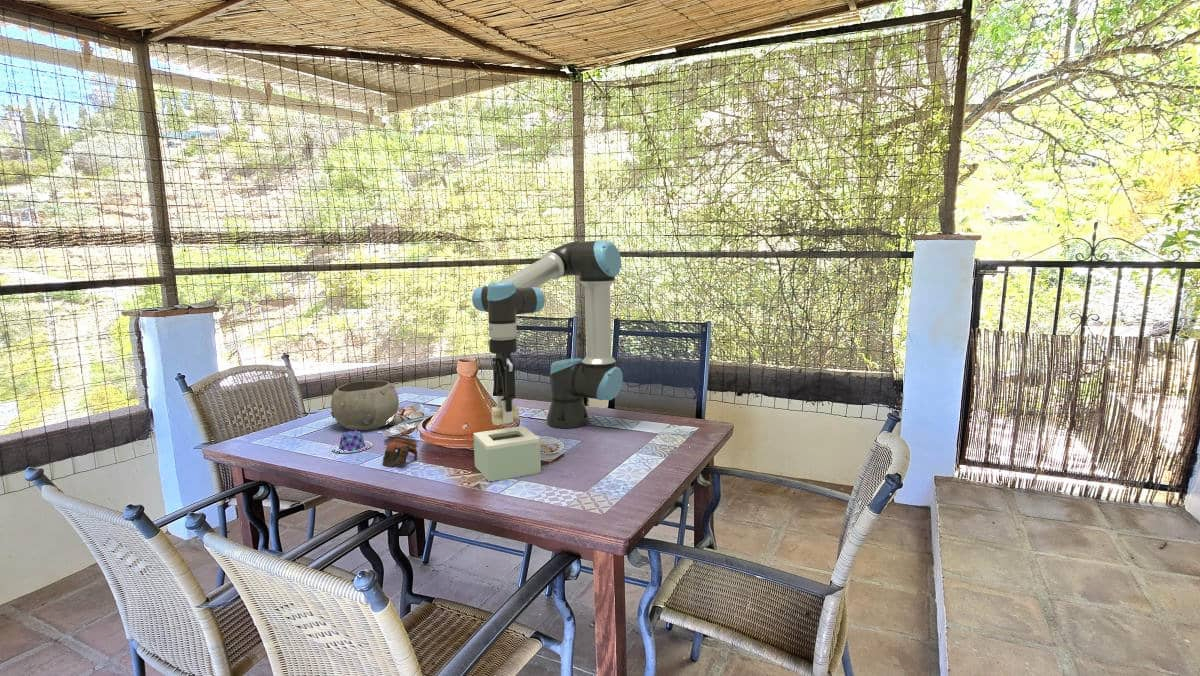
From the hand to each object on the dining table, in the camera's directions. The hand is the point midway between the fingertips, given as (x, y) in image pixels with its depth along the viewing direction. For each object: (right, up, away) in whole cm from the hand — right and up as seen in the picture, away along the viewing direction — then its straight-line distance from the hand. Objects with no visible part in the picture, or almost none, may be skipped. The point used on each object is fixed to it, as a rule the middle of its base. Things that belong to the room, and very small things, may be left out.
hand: (505, 420), depth 172 cm
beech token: (0, -1, 0) cm, 0 cm away
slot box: (0, -14, +2) cm, 14 cm away
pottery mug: (-32, -14, +9) cm, 36 cm away
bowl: (-58, -9, +50) cm, 77 cm away
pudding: (-53, -13, +24) cm, 59 cm away
